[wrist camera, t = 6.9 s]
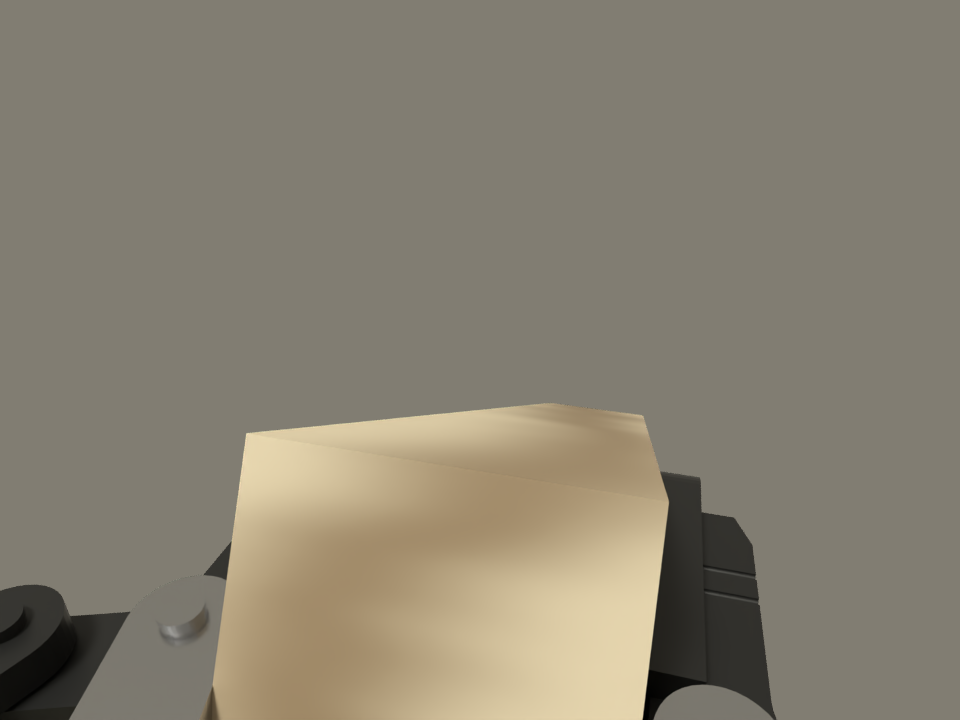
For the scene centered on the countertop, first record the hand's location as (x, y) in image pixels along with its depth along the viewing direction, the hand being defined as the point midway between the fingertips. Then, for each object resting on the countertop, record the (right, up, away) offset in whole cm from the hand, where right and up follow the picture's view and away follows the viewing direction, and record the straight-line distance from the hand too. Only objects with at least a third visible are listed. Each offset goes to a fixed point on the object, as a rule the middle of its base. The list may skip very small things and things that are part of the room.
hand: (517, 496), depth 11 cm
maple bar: (+1, -4, +7) cm, 8 cm away
